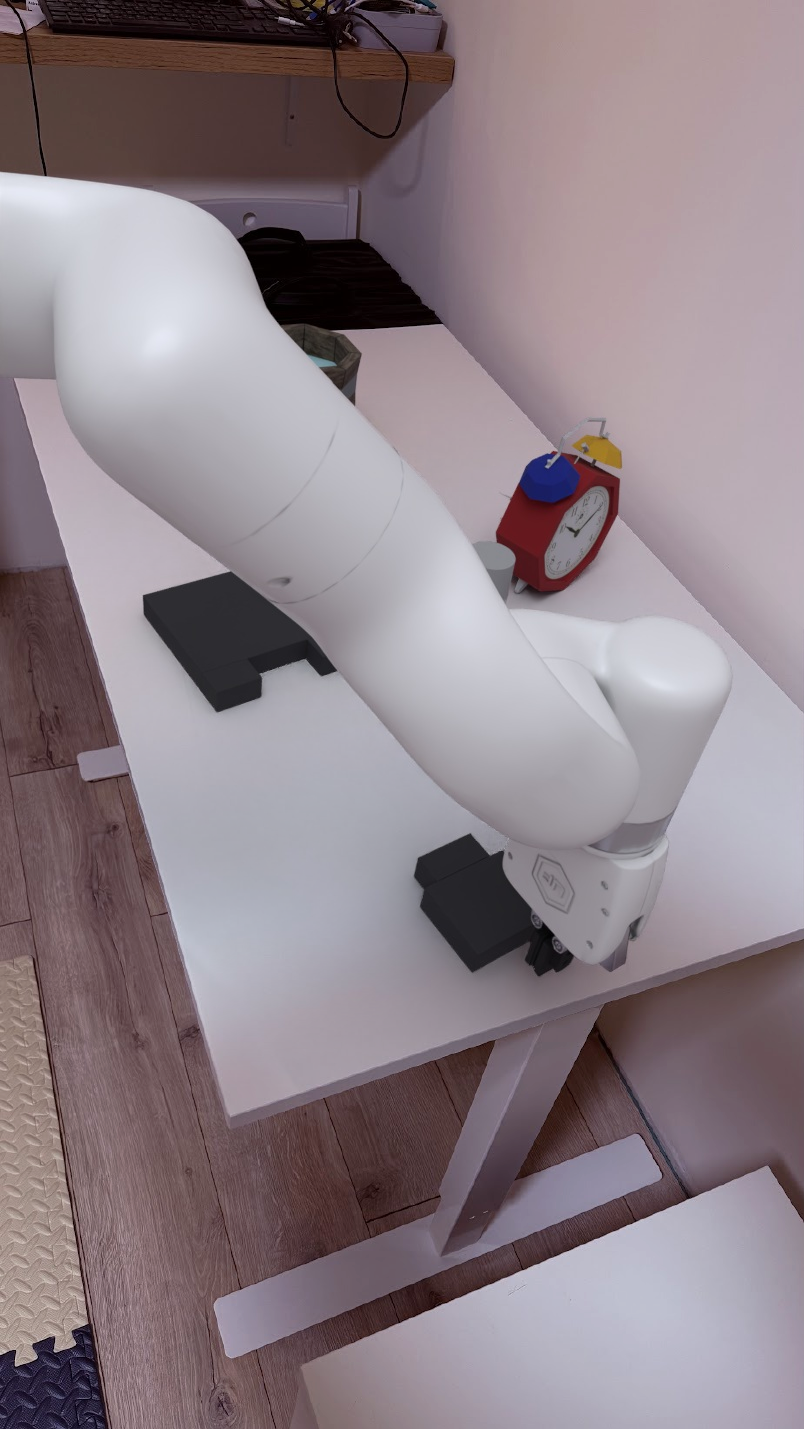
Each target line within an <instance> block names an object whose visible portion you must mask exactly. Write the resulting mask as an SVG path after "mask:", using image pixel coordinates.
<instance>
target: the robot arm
mask: <svg viewBox="0 0 804 1429" xmlns="http://www.w3.org/2000/svg"><path fill="white" fill-rule="evenodd" d="M0 378H1V379H2V378H3V379H25V380H28V379H29V380H55V382H56V389H57V394H58V398H59V402H60V406H61V410H62V413H63V416H64V418H65V421H66V423H67V425H68V427H69V429H70V431H71V434H72V435H73V437H74V438H75V439H76V440H77V442H78V443H79V445H80V447H81V448H82V449H83V451H84V452H85V453H86V454H87V456H88V457H89V458H90V459H91V461H92V462H93V463H94V464H95V465H96V466H97V467H98V468H99V469H101V471H102V472H103V473H104V474H106V475H107V476H108V477H109V478H110V479H112V481H114V482H115V483H116V484H117V485H119V487H121V488H123V489H124V490H125V491H126V492H127V493H129V495H131V496H133V497H134V498H135V500H138V501H139V502H140V503H142V504H143V505H145V506H146V507H147V508H148V509H150V510H151V511H152V512H154V513H155V514H156V515H157V516H158V517H159V518H161V519H162V520H164V521H165V522H166V523H167V524H169V525H170V526H171V527H172V528H174V529H175V530H176V531H177V532H179V533H180V534H181V535H183V536H184V537H185V538H187V539H188V540H189V541H191V543H193V544H194V545H196V546H198V548H200V549H202V550H203V551H204V552H206V553H207V554H208V555H209V556H210V557H211V558H213V559H214V560H215V561H217V562H218V563H220V564H221V565H222V566H223V567H225V568H226V569H227V570H228V571H229V572H230V571H231V572H233V573H234V574H235V575H236V576H238V577H239V578H240V579H242V580H243V581H244V582H245V583H247V584H248V585H249V586H251V587H252V588H253V589H254V590H256V591H257V592H258V593H260V594H261V595H262V596H263V597H264V598H265V599H267V600H268V601H269V602H271V603H272V604H273V605H274V606H276V607H277V608H278V609H280V610H281V611H282V612H283V613H285V614H286V615H287V616H288V617H290V618H291V619H292V620H293V621H295V622H296V623H297V624H298V625H299V626H301V627H302V628H303V629H304V630H305V631H306V632H307V633H308V634H309V635H310V636H311V637H312V638H313V639H314V640H315V641H316V643H317V644H318V645H319V646H320V648H321V649H322V651H323V652H324V653H325V655H326V656H327V657H328V659H329V660H330V662H331V663H332V664H333V666H334V667H335V668H336V669H337V671H336V672H338V673H339V675H340V676H341V677H342V679H343V680H344V681H345V682H346V683H347V684H348V685H349V687H350V688H351V689H352V691H353V692H354V693H355V694H356V695H357V696H358V697H359V698H360V699H361V700H362V702H363V703H364V704H365V705H366V706H367V707H368V708H369V709H370V711H371V712H372V713H373V714H374V715H375V716H376V717H377V719H378V720H379V721H380V723H381V724H382V725H383V726H384V727H385V729H387V731H388V732H389V733H390V734H391V735H392V737H393V738H394V739H395V741H396V742H397V743H398V744H399V745H400V746H401V748H402V749H403V750H404V751H405V752H406V753H407V755H409V757H410V758H411V759H412V760H413V762H415V763H416V765H417V766H418V767H419V768H420V769H421V770H422V772H424V774H426V776H428V777H429V778H430V780H431V781H432V782H433V783H434V784H435V785H436V786H438V787H439V789H441V790H442V791H443V792H444V793H445V794H446V795H447V796H448V797H449V798H450V799H452V801H454V802H455V803H457V804H458V805H459V806H461V807H462V808H463V809H465V810H466V811H467V812H469V813H470V814H472V815H473V816H474V817H476V818H478V820H480V821H481V822H482V823H484V824H486V825H487V826H489V827H490V828H491V829H493V830H494V831H496V832H498V833H499V834H501V835H503V836H505V837H507V838H508V841H507V843H506V846H505V849H504V856H503V870H504V873H505V875H506V877H507V878H508V880H509V882H510V883H511V884H512V886H513V887H514V888H515V889H516V890H517V892H518V893H519V894H520V895H521V896H522V898H523V899H524V900H525V901H526V902H527V903H528V905H529V906H530V907H531V908H532V911H531V921H532V923H533V925H534V926H535V928H534V930H533V933H532V936H531V938H530V941H529V943H530V945H529V946H528V949H527V952H526V955H525V956H524V957H525V958H524V962H526V964H527V965H528V966H529V967H530V966H531V967H532V968H533V972H534V973H535V974H536V976H537V977H538V978H539V977H542V976H544V975H545V974H547V973H549V972H550V971H552V970H553V971H554V972H555V973H559V972H561V971H564V970H565V969H566V968H568V966H570V965H571V963H572V961H573V959H574V957H575V958H576V959H578V960H580V961H581V962H582V963H584V964H586V965H589V966H595V965H598V964H599V965H600V966H601V967H602V968H603V969H604V970H605V971H607V972H609V973H612V972H614V971H616V970H617V969H618V968H621V967H623V965H626V961H627V957H628V956H627V954H628V948H629V942H635V941H637V940H638V939H639V938H640V936H641V935H642V934H643V932H644V930H645V928H646V926H647V924H648V923H649V922H648V921H649V919H650V917H651V914H652V912H653V910H654V907H655V904H656V902H657V899H658V896H659V893H660V890H661V887H662V883H663V879H664V875H665V871H666V867H667V861H668V856H669V846H670V840H669V838H668V837H667V835H666V831H667V830H668V828H669V825H670V823H671V821H672V818H673V816H674V815H675V812H676V810H677V808H678V806H679V805H680V802H681V799H682V798H683V795H684V793H685V791H686V789H687V788H688V784H689V783H690V780H691V778H692V777H693V774H694V772H695V770H696V768H697V766H698V764H699V762H700V760H701V758H702V756H703V753H704V751H705V749H706V747H707V745H708V743H709V740H710V738H711V736H712V734H713V733H714V732H713V731H714V730H715V727H716V726H717V724H718V721H719V719H720V717H721V716H722V713H723V712H724V708H725V707H726V704H727V702H728V699H729V697H730V693H731V691H732V687H733V676H734V675H733V670H732V664H731V662H730V659H729V657H728V655H727V652H726V651H725V650H724V649H723V647H722V645H720V643H718V642H717V640H716V639H714V637H712V636H711V635H709V634H708V633H707V632H706V631H704V630H703V629H701V628H699V627H698V626H696V625H694V624H692V623H689V622H687V621H684V620H681V619H679V618H674V617H671V616H665V615H639V616H633V617H631V618H628V619H625V620H623V621H610V620H601V619H595V618H589V617H581V616H576V615H570V614H565V613H559V612H553V611H547V610H540V609H533V608H511V607H510V608H509V607H508V606H507V603H506V604H505V603H504V601H503V599H502V597H501V596H500V594H499V592H498V590H497V589H496V587H495V585H494V583H493V581H492V580H491V578H490V576H489V574H488V572H487V570H486V568H485V566H484V565H483V563H482V561H481V559H480V557H479V555H478V554H477V552H476V550H475V548H474V547H473V545H472V544H473V543H472V542H471V540H470V538H469V537H468V536H467V534H466V533H465V531H464V529H463V527H462V526H461V524H460V523H459V521H457V519H456V518H455V516H454V514H453V513H452V511H451V510H450V509H449V507H448V506H447V504H446V503H445V501H444V500H443V498H442V497H441V496H440V494H439V493H438V492H437V491H436V490H435V489H434V488H433V486H432V485H431V484H430V482H428V481H427V480H426V479H425V478H424V477H423V476H422V475H421V474H420V473H419V472H418V471H417V470H416V468H414V467H413V466H412V465H411V463H409V461H407V459H406V458H405V457H404V456H403V455H402V454H401V453H400V452H399V451H398V450H397V449H396V448H395V446H394V445H392V444H391V443H390V442H389V441H388V439H386V437H385V436H384V435H383V434H382V433H381V432H380V431H379V429H377V428H376V427H375V426H374V425H373V424H372V423H371V421H369V420H368V419H367V417H366V416H365V415H364V414H363V413H362V412H361V411H360V410H359V409H358V408H357V407H356V405H355V406H354V405H353V404H352V403H351V402H350V401H349V400H348V399H347V398H346V397H345V395H344V394H343V393H342V392H341V391H340V390H339V389H338V388H337V387H336V386H335V385H334V384H333V382H332V381H331V380H330V379H329V378H328V377H327V376H326V375H325V373H324V372H323V371H322V370H321V369H320V368H319V367H318V366H317V365H316V364H315V363H314V362H313V361H312V360H311V359H310V358H309V357H308V356H307V355H306V353H305V352H304V351H303V350H302V349H301V348H300V347H299V346H298V345H297V344H296V343H295V342H294V341H293V340H292V339H291V338H290V337H289V336H288V334H287V333H286V332H285V331H284V330H283V329H282V328H281V327H280V324H279V322H277V320H276V319H275V317H274V316H273V314H271V312H270V310H269V309H268V307H267V305H266V302H265V301H264V297H263V295H262V292H261V289H260V286H259V283H258V281H257V279H256V275H255V272H254V270H253V267H252V265H251V262H250V260H249V259H248V256H247V254H246V251H245V250H244V248H243V246H242V245H241V244H240V243H239V241H238V240H237V238H236V237H235V236H234V234H233V233H232V232H231V230H230V229H229V228H228V227H226V225H224V223H222V222H221V221H220V220H219V219H218V218H216V217H215V216H214V215H213V214H211V213H210V212H208V211H206V210H204V209H203V208H201V207H200V206H198V205H196V204H194V203H192V202H190V201H188V200H185V199H181V198H178V197H176V196H172V195H169V194H166V193H163V192H159V191H155V190H150V189H146V188H139V187H135V186H128V185H121V184H113V183H105V182H100V181H99V182H98V181H89V180H83V179H82V180H81V179H73V178H64V177H54V176H45V175H35V174H27V173H17V172H5V171H4V172H3V171H0Z"/></svg>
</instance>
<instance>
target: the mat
mask: <svg viewBox="0 0 804 1429" xmlns="http://www.w3.org/2000/svg"><path fill="white" fill-rule="evenodd" d="M142 609H143V610H142V611H143V616H144V617H145V618H146V620H147V621H148V622H149V624H150V625H151V627H152V628H153V630H154V631H156V633H157V634H158V636H159V637H160V638H161V640H162V641H163V642H164V644H165V645H166V646H167V648H168V650H169V651H170V652H171V653H172V655H173V656H174V657H175V658H176V660H177V661H178V662H179V664H180V665H181V666H182V668H183V669H184V670H185V672H186V673H187V674H188V676H189V677H190V678H191V680H192V681H193V683H194V684H195V685H196V686H197V688H198V689H199V691H200V692H201V693H202V694H203V696H204V697H205V699H206V700H207V701H208V703H209V704H210V705H211V707H212V708H213V709H214V711H215V712H216V713H219V712H221V711H224V710H228V709H231V708H233V707H236V706H239V705H242V704H245V703H247V702H250V701H251V702H252V701H254V700H256V699H260V698H262V690H263V677H262V675H261V674H263V673H265V672H268V671H271V670H275V669H276V668H280V667H284V666H286V665H289V664H293V663H295V662H298V661H301V660H303V659H304V660H305V659H306V660H307V662H308V663H309V664H310V666H312V668H314V670H315V671H316V672H317V673H318V675H319V676H320V677H323V676H326V675H329V674H332V673H335V672H338V671H337V669H336V668H335V667H334V666H333V664H332V663H331V662H330V660H329V659H328V657H327V656H326V655H325V653H324V652H323V651H322V649H321V648H320V646H319V645H318V644H317V643H316V641H315V640H314V639H313V638H312V637H311V636H310V635H309V634H308V633H307V632H306V631H305V630H304V629H303V628H302V627H301V626H299V625H298V624H297V623H296V622H295V621H293V620H292V619H291V618H290V617H288V616H287V615H286V614H285V613H283V612H282V611H281V610H280V609H278V608H277V607H276V606H274V605H273V604H272V603H271V602H269V601H268V600H267V599H265V598H264V597H263V596H262V595H261V594H260V593H258V592H257V591H256V590H254V589H253V588H252V587H251V586H249V585H248V584H247V583H245V582H244V581H243V580H242V579H240V578H239V577H238V576H236V575H235V574H234V573H233V572H231V571H230V570H229V571H226V572H222V573H219V574H215V575H211V576H208V577H204V578H200V579H196V580H193V581H190V582H186V583H182V584H179V585H178V584H177V585H175V586H171V587H167V588H164V589H160V590H156V591H153V592H150V593H149V592H148V593H146V594H142Z"/></svg>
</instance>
